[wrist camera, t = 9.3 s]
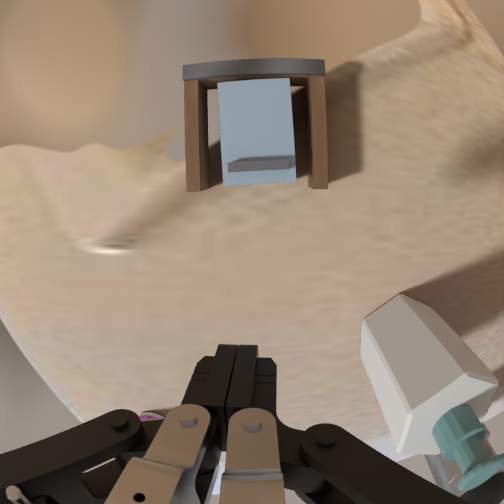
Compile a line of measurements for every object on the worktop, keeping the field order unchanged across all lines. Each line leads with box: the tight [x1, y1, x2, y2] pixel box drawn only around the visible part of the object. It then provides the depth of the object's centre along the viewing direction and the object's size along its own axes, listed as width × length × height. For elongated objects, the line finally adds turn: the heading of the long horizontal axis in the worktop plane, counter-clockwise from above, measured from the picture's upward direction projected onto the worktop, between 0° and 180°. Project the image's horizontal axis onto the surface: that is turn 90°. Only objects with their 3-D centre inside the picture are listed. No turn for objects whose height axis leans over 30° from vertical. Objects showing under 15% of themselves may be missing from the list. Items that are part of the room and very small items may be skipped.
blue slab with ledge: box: [217, 78, 296, 186], centre depth 25 cm, size 6×9×6 cm, turn 3°
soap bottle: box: [360, 294, 504, 491], centre depth 22 cm, size 10×9×22 cm
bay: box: [183, 58, 328, 192], centre depth 25 cm, size 12×11×5 cm
